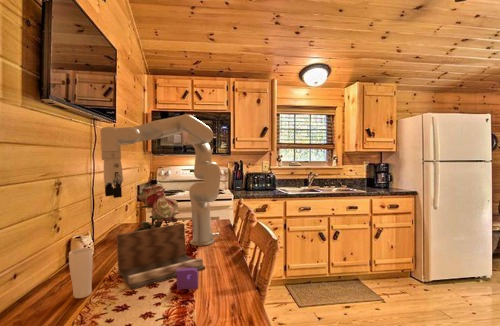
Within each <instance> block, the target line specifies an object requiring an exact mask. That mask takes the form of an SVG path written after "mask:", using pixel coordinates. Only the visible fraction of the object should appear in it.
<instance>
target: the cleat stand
mask: <svg viewBox="0 0 500 326" xmlns="http://www.w3.org/2000/svg"><path fill="white" fill-rule="evenodd" d="M134 231H135V230H134ZM134 231H131V232H125V233H118V234H116V251H117V253H116V255H117V268H118V269H117V272H118V273H119V275H120V276H121V278H122V279H123V280H124V281H125V282H126V284H127V286H128V287H129V288H130V290H135V289H134V288H136V289H138V287H139V288H142V286H143V287H145V285H146V286H149V285H148V284H150V285H152V284H151V283H153V284H155V283H154V282H157V283H159V282H158V281H161V282H163V281H162V280H164V281H166V280H165V279H168V278H171V279H173V278H172V277H175V278H177V277H176V276H177V269H185V268H195V269H197V271H198V272H200V271H202V270H203V271H204V270H205V269H206V266H205V265H204V263H203V261H204V260H203V258H202V257H198V258H192V257H191V256H189V255H187V254H186V250H187V249H186V236H185V235H186V232H185V231H186V230H185V223H183V222H181V223H175V225H174V224H171V225H169V224H168V226H167V225H164V226H161V227H158V228H152V229H146V230H141V231H135V232H134ZM168 280H169V279H168Z"/></svg>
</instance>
